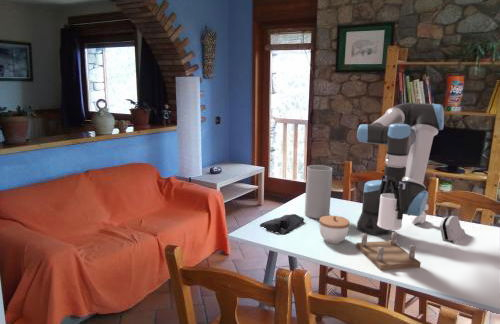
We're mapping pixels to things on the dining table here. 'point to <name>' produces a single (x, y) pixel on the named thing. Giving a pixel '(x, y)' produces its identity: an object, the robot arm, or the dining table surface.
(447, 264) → the dining table surface
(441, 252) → the dining table surface
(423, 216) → the bust
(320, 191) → the cylinder vase
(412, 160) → the robot arm
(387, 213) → the mug
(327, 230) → the lidded bowl
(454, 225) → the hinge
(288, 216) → the dark slate chunk
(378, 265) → the peg board
